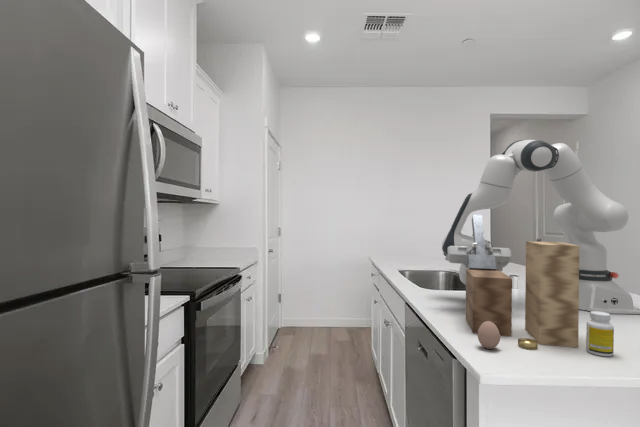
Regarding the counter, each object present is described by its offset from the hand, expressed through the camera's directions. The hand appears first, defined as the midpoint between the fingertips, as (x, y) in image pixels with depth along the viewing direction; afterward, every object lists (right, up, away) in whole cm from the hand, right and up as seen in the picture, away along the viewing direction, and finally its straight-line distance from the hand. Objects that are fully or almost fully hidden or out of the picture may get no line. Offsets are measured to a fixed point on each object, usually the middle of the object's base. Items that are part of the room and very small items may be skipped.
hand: (481, 245), depth 124 cm
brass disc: (0, -24, -27) cm, 36 cm away
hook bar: (+1, 0, +5) cm, 6 cm away
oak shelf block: (+10, -24, -20) cm, 33 cm away
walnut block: (-3, -24, -10) cm, 26 cm away
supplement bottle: (+16, -24, -31) cm, 42 cm away
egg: (-10, -24, -29) cm, 39 cm away
